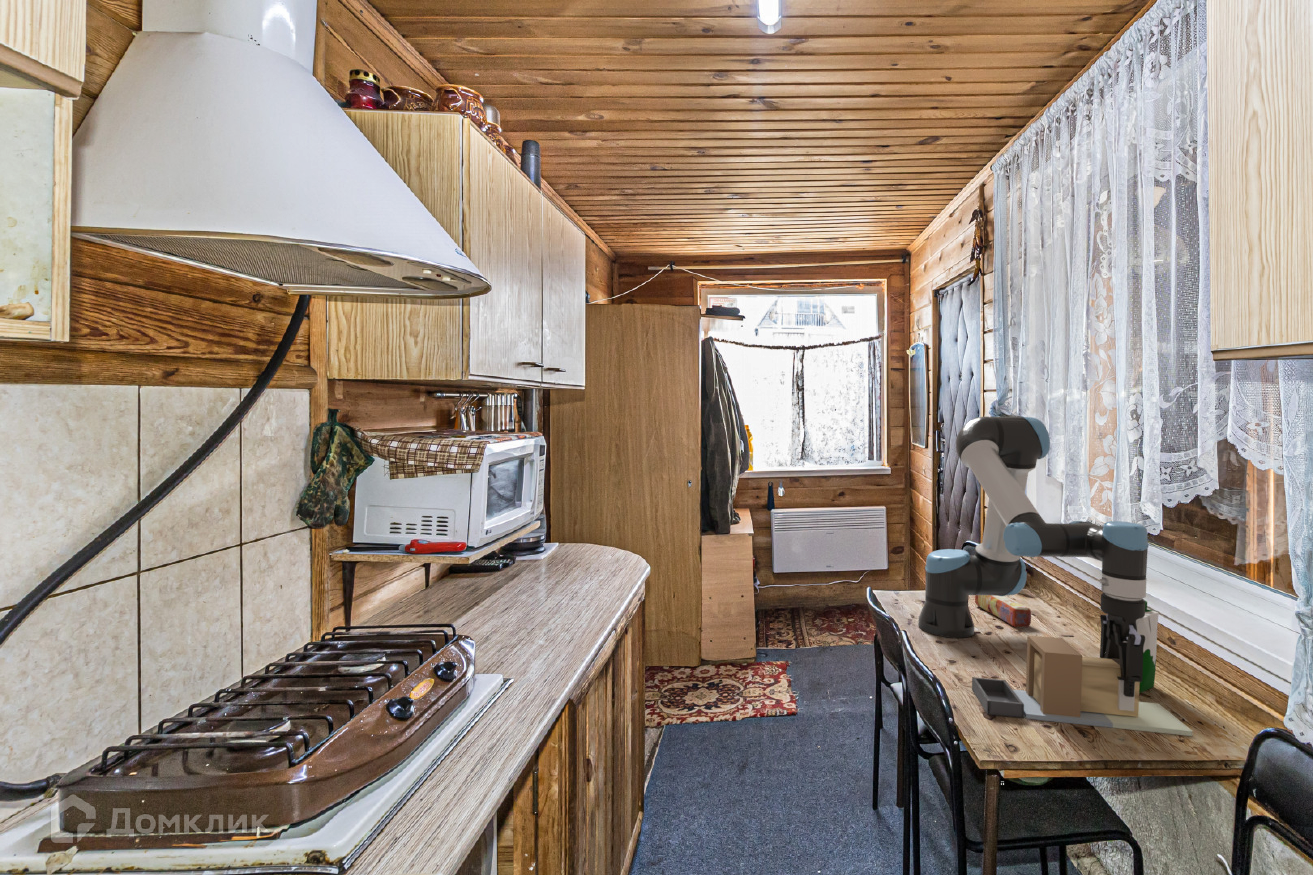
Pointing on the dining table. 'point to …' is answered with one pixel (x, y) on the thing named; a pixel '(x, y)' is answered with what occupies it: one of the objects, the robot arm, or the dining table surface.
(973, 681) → the tray
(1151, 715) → the board
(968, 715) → the dining table surface
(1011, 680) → the dining table surface
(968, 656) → the dining table surface
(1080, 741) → the dining table surface
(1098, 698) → the block
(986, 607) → the snack package
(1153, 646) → the milk carton
